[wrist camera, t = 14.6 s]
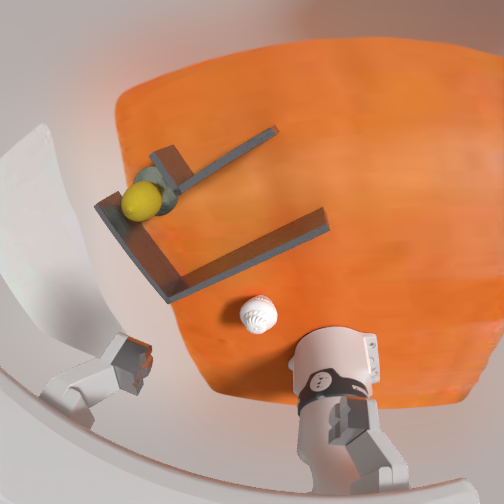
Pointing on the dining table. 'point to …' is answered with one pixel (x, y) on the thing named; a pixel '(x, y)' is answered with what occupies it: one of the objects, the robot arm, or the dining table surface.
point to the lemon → (141, 201)
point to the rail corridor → (172, 185)
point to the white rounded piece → (258, 314)
